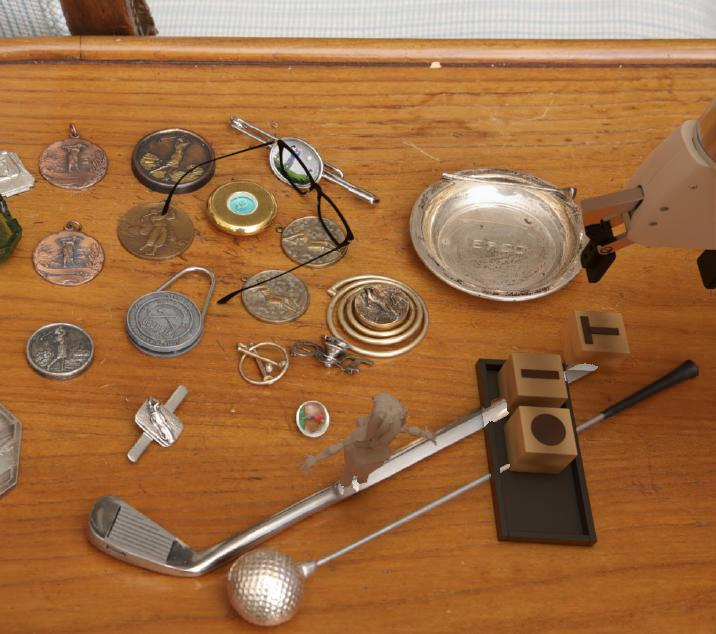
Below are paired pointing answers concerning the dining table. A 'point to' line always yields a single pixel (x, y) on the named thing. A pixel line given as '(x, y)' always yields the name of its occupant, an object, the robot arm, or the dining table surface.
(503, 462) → the letter tray
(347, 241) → the eyeglasses
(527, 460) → the wooden block with dot
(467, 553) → the dining table surface
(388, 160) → the dining table surface
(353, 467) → the human figurine
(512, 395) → the letter I
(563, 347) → the wooden letter block
